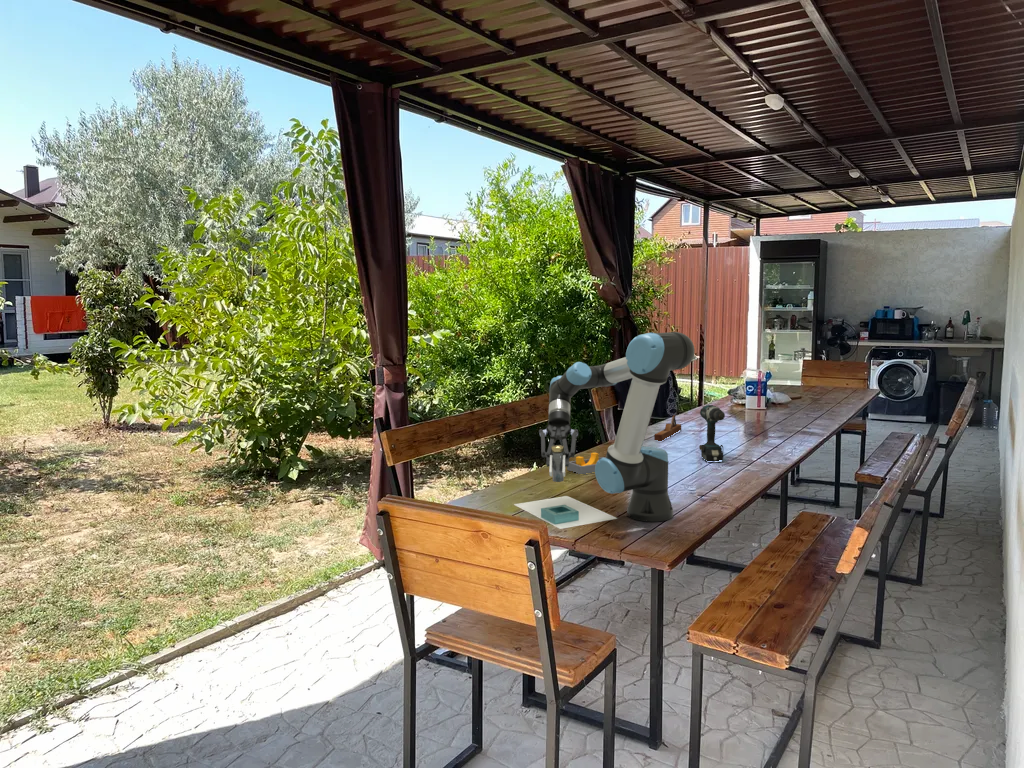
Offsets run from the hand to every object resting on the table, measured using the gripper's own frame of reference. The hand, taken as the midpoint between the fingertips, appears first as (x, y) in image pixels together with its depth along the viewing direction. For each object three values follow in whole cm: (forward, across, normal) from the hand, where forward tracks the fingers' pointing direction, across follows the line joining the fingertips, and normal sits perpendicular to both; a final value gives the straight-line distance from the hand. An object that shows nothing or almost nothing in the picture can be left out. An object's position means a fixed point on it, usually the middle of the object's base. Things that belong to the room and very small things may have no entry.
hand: (557, 474), depth 236 cm
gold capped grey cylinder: (-1, 0, -5) cm, 5 cm away
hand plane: (-97, -49, -120) cm, 162 cm away
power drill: (-54, -63, -77) cm, 114 cm away
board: (+5, -1, -18) cm, 19 cm away
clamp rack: (-42, -10, -64) cm, 77 cm away
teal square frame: (+10, 0, -11) cm, 15 cm away
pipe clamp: (-41, -9, -64) cm, 77 cm away
